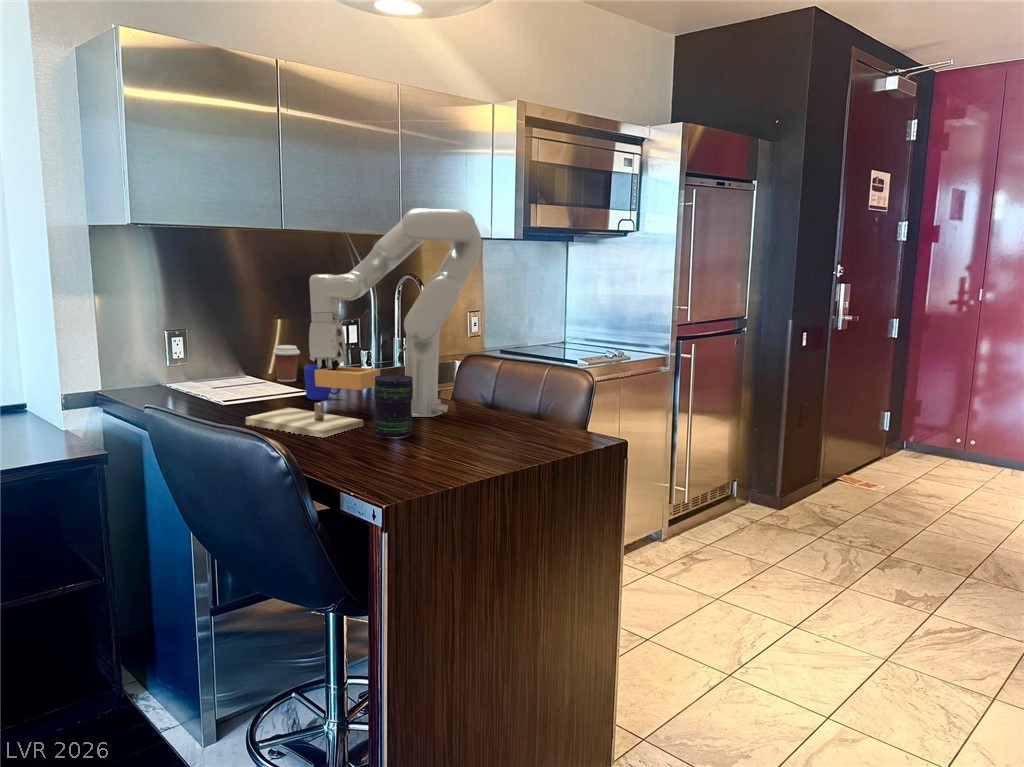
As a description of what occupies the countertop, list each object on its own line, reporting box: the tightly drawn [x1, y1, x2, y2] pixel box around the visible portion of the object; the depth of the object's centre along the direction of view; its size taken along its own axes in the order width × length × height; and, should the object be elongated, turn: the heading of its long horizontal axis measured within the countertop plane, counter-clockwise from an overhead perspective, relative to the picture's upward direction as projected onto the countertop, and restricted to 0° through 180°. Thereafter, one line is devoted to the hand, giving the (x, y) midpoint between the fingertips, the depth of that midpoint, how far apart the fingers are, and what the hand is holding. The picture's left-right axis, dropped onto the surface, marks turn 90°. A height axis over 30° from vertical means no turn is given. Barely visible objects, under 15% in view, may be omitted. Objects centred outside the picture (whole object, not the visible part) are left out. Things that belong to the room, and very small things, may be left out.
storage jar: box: [373, 374, 413, 437], centre depth 194 cm, size 10×10×15 cm
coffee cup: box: [272, 344, 301, 383], centre depth 265 cm, size 9×9×12 cm
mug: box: [303, 364, 342, 401], centre depth 235 cm, size 8×12×10 cm
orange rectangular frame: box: [315, 365, 381, 391], centre depth 214 cm, size 16×9×4 cm, turn 63°
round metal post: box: [314, 401, 325, 421], centre depth 199 cm, size 2×2×4 cm
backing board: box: [245, 407, 364, 438], centre depth 200 cm, size 26×16×2 cm, turn 63°
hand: (328, 381), depth 217 cm, fingers closed on orange rectangular frame, 2 cm apart
